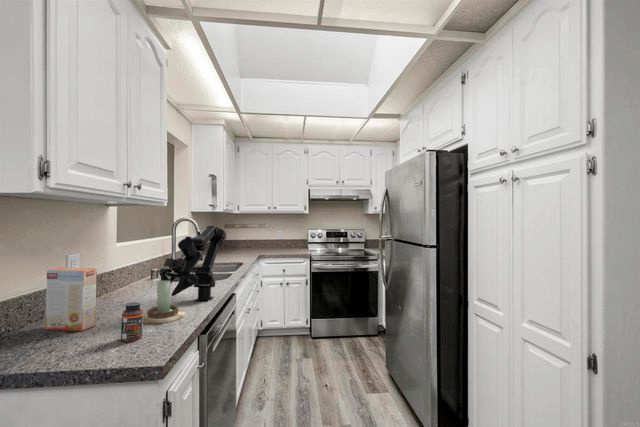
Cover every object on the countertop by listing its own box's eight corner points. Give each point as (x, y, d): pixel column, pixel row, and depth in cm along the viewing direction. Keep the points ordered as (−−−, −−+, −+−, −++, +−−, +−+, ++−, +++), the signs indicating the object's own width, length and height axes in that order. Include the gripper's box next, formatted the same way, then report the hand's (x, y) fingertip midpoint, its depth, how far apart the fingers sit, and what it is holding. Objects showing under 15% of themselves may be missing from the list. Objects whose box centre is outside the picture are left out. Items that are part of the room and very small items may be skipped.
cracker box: (96, 325, 106) (97, 267, 107) (81, 332, 100) (82, 270, 101) (61, 324, 108) (62, 266, 108) (44, 330, 102) (45, 269, 102)
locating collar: (158, 309, 126) (158, 302, 126) (193, 311, 123) (193, 304, 124) (129, 322, 110) (129, 314, 110) (168, 325, 108) (169, 317, 108)
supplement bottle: (124, 344, 91) (125, 307, 91) (117, 339, 95) (118, 304, 95) (145, 338, 96) (146, 303, 96) (138, 333, 99) (138, 300, 100)
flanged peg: (157, 311, 120) (158, 279, 120) (175, 311, 121) (176, 279, 121) (149, 317, 113) (150, 283, 113) (169, 316, 114) (169, 283, 114)
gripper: (163, 249, 127) (136, 279, 117) (192, 252, 118) (166, 285, 108) (179, 265, 133) (155, 295, 124) (208, 268, 125) (185, 301, 115)
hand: (164, 293), depth 117 cm, fingers open, 9 cm apart
